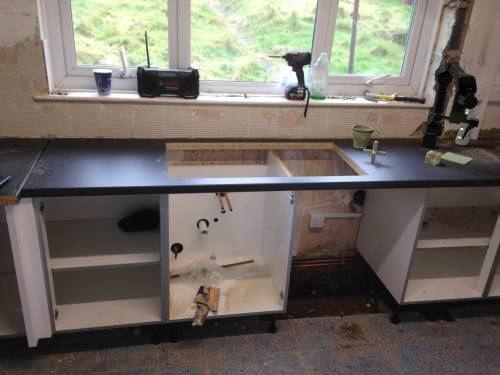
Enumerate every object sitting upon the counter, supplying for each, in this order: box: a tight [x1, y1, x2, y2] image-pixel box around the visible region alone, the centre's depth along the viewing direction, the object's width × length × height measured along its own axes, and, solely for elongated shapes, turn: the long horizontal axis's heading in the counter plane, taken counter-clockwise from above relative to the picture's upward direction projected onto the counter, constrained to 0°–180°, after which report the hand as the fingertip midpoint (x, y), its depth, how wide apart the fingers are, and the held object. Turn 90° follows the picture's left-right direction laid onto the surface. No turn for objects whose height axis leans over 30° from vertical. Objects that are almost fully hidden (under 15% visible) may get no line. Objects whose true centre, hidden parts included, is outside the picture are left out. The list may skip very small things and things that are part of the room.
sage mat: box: [440, 151, 474, 166], centre depth 205 cm, size 12×12×1 cm
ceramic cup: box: [352, 124, 380, 150], centre depth 212 cm, size 13×10×10 cm
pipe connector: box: [362, 140, 387, 164], centre depth 192 cm, size 10×10×10 cm
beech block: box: [424, 150, 443, 166], centre depth 197 cm, size 5×5×5 cm
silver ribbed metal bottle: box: [454, 108, 476, 146], centre depth 223 cm, size 6×7×20 cm
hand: (451, 138), depth 194 cm, fingers open, 9 cm apart
